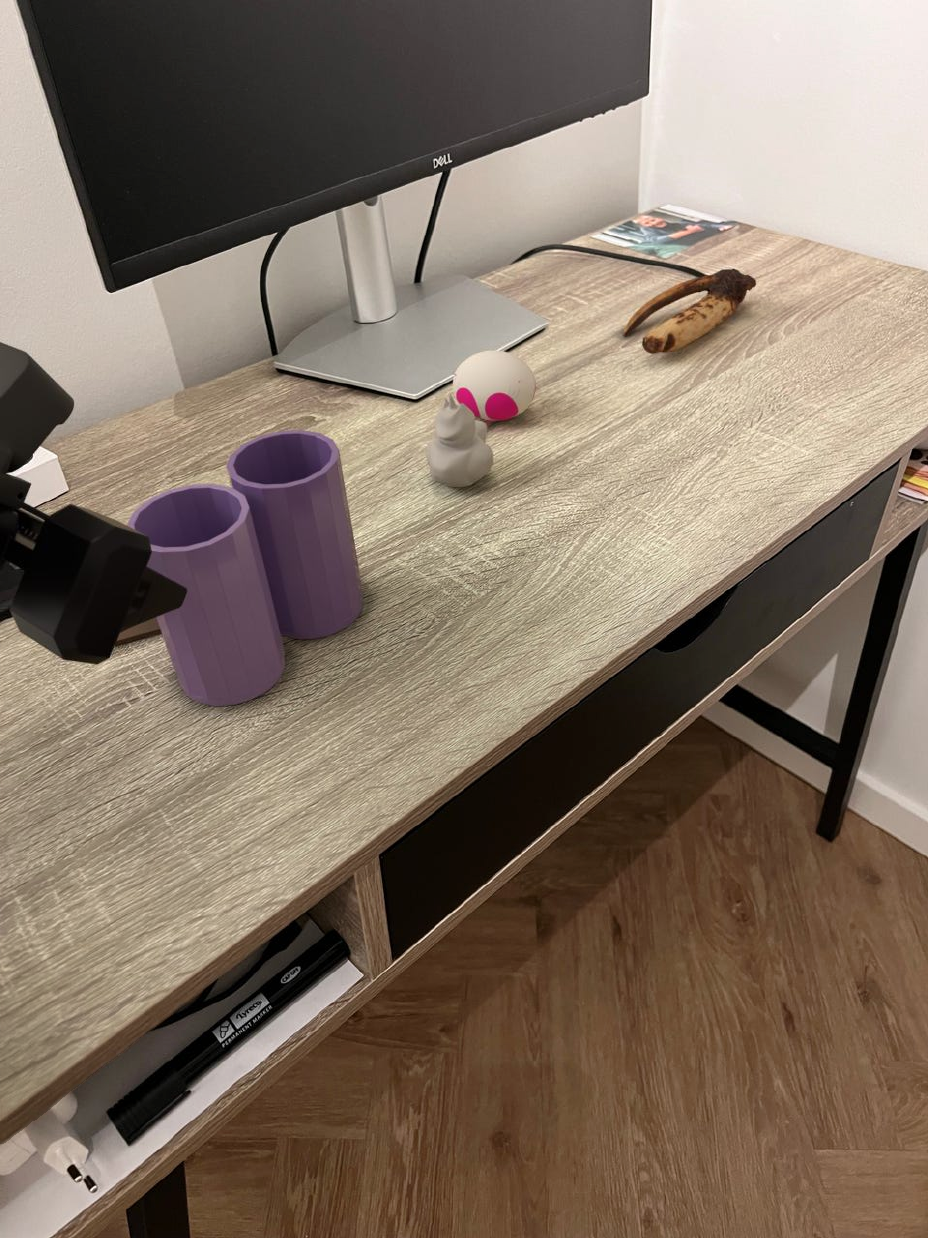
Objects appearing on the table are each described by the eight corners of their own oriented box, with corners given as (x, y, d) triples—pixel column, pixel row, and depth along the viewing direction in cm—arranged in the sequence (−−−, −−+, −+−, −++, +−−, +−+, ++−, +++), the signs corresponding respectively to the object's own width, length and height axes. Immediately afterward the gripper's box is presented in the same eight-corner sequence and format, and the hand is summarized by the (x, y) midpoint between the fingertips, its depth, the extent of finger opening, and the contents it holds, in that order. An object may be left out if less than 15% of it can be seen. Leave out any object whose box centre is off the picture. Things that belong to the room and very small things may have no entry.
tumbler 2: (277, 651, 65) (238, 498, 57) (255, 592, 70) (217, 445, 62) (375, 622, 67) (351, 470, 59) (347, 567, 72) (322, 420, 64)
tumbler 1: (188, 719, 60) (134, 564, 53) (172, 651, 65) (120, 501, 58) (296, 686, 62) (259, 531, 54) (272, 623, 67) (235, 472, 59)
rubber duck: (413, 488, 79) (402, 399, 74) (456, 451, 83) (449, 363, 78) (469, 505, 77) (463, 414, 72) (511, 465, 81) (508, 376, 76)
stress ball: (453, 450, 90) (427, 415, 84) (479, 373, 91) (455, 333, 85) (529, 461, 87) (507, 426, 81) (554, 382, 88) (535, 341, 82)
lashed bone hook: (686, 294, 107) (592, 352, 96) (689, 250, 104) (593, 305, 93) (765, 309, 101) (675, 372, 91) (771, 264, 99) (679, 322, 88)
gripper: (37, 362, 36) (303, 481, 49) (-195, 271, 45) (82, 392, 58) (-73, 644, 36) (220, 685, 50) (-280, 496, 45) (14, 565, 59)
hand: (129, 568), depth 54 cm, fingers open, 9 cm apart
